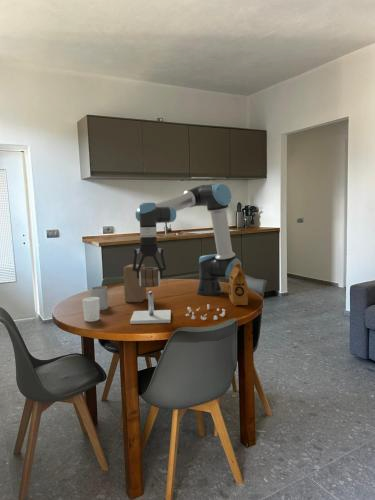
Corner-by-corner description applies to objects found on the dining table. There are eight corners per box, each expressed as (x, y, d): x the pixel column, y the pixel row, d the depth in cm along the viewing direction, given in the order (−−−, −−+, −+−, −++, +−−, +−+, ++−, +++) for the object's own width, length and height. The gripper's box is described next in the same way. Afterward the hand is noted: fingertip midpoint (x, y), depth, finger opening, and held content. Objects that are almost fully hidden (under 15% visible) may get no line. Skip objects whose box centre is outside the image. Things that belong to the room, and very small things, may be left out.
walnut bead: (159, 283, 178) (158, 267, 177) (158, 287, 170) (157, 269, 169) (142, 284, 177) (141, 267, 176) (140, 287, 169) (140, 270, 168)
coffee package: (230, 306, 192) (229, 264, 190) (228, 300, 205) (227, 261, 202) (249, 306, 192) (249, 264, 190) (246, 300, 204) (246, 260, 202)
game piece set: (177, 316, 179) (176, 308, 179) (205, 307, 193) (205, 300, 192) (206, 324, 165) (206, 315, 165) (235, 314, 179) (234, 306, 179)
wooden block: (141, 302, 205) (140, 266, 203) (124, 302, 207) (122, 266, 205) (147, 298, 214) (145, 264, 212) (130, 298, 216) (129, 264, 214)
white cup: (85, 317, 179) (83, 297, 178) (101, 316, 179) (100, 296, 178) (81, 322, 171) (80, 301, 170) (99, 321, 172) (98, 300, 171)
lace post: (154, 314, 176) (153, 291, 175) (153, 315, 174) (152, 292, 173) (149, 314, 176) (148, 291, 175) (148, 315, 174) (147, 292, 173)
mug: (105, 310, 191) (104, 289, 189) (89, 310, 192) (87, 289, 190) (112, 304, 202) (111, 284, 201) (97, 304, 204) (96, 284, 202)
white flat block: (170, 312, 183) (170, 309, 183) (170, 322, 167) (170, 319, 167) (134, 314, 183) (133, 311, 183) (130, 324, 167) (130, 320, 167)
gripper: (124, 237, 167) (126, 287, 169) (171, 236, 168) (172, 286, 170) (126, 236, 174) (128, 284, 177) (171, 235, 175) (172, 283, 177)
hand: (150, 285), depth 173 cm, fingers closed on walnut bead, 8 cm apart
